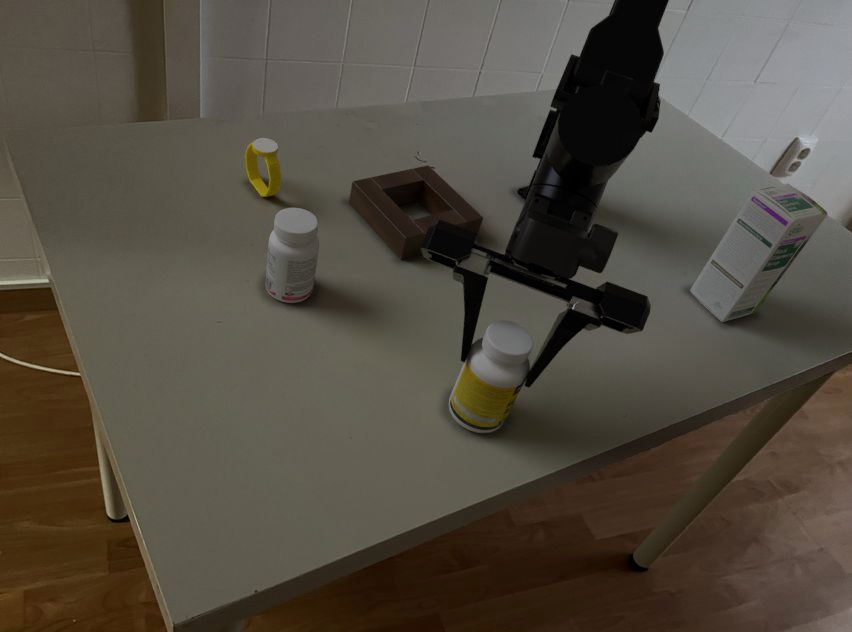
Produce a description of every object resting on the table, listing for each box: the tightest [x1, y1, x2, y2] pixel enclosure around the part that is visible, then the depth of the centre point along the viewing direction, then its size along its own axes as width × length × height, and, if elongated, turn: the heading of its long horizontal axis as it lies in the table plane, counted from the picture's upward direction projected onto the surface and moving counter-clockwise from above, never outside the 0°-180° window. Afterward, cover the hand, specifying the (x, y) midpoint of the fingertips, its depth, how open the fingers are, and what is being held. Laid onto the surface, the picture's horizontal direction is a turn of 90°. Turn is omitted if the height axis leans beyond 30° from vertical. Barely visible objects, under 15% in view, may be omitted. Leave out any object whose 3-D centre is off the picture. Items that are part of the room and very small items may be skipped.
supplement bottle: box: [448, 320, 534, 434], centre depth 61 cm, size 5×5×10 cm
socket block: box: [348, 165, 484, 261], centre depth 82 cm, size 11×11×3 cm
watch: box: [244, 137, 282, 198], centre depth 80 cm, size 6×3×6 cm, turn 35°
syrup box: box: [689, 183, 828, 323], centre depth 78 cm, size 6×6×14 cm
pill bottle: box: [265, 207, 320, 304], centre depth 68 cm, size 5×5×8 cm
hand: (494, 374), depth 59 cm, fingers closed on supplement bottle, 5 cm apart
